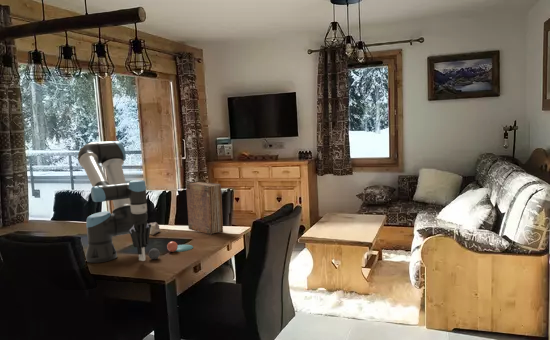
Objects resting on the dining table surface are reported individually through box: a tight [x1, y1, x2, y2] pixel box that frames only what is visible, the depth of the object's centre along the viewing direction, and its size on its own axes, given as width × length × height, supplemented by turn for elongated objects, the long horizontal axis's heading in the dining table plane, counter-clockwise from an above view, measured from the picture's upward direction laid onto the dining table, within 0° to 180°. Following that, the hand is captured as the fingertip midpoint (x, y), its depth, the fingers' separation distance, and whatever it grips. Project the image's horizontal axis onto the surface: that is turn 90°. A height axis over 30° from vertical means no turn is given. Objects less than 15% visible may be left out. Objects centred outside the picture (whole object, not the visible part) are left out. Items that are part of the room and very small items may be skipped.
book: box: [185, 181, 224, 236], centre depth 282 cm, size 25×9×30 cm, turn 43°
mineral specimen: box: [149, 222, 161, 236], centre depth 281 cm, size 13×7×6 cm, turn 31°
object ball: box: [166, 240, 179, 253], centre depth 237 cm, size 6×6×6 cm
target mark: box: [173, 244, 194, 253], centre depth 244 cm, size 13×13×1 cm
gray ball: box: [148, 247, 161, 260], centre depth 225 cm, size 6×6×6 cm
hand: (142, 260), depth 218 cm, fingers closed
